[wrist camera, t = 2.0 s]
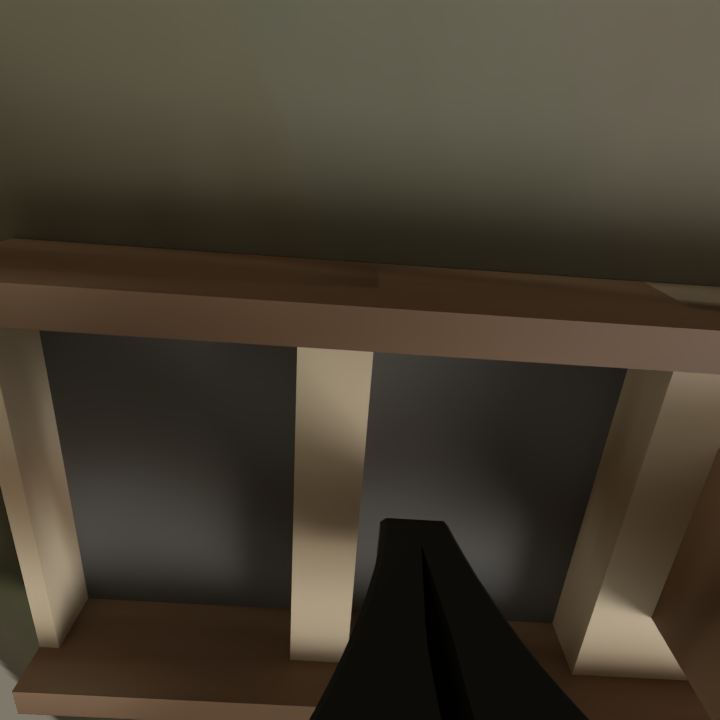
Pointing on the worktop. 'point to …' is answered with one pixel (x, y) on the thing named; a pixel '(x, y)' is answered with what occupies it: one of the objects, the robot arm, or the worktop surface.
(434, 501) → the brown wooden open box
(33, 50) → the worktop surface
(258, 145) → the worktop surface
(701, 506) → the walnut block
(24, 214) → the worktop surface
